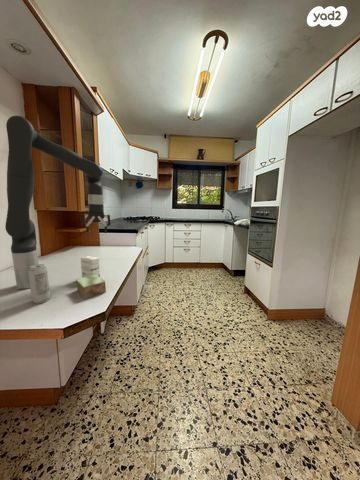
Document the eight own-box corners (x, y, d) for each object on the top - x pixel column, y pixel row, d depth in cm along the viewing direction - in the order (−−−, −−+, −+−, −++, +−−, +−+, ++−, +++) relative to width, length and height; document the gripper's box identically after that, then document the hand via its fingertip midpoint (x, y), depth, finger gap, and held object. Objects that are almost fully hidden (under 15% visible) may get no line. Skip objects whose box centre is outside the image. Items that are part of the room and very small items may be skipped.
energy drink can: (46, 295, 82) (42, 262, 79) (53, 299, 79) (49, 265, 76) (29, 301, 77) (24, 266, 74) (37, 305, 74) (31, 269, 71)
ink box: (100, 278, 101) (99, 257, 99) (93, 282, 97) (91, 260, 94) (89, 276, 105) (87, 255, 102) (81, 279, 100) (79, 257, 98)
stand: (85, 298, 79) (84, 287, 78) (77, 290, 87) (76, 279, 86) (106, 292, 85) (105, 281, 84) (96, 284, 93) (96, 274, 92)
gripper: (80, 202, 96) (81, 234, 98) (109, 204, 100) (110, 233, 103) (82, 203, 103) (83, 232, 105) (110, 204, 107) (110, 232, 110)
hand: (97, 233), depth 104 cm, fingers open, 8 cm apart
